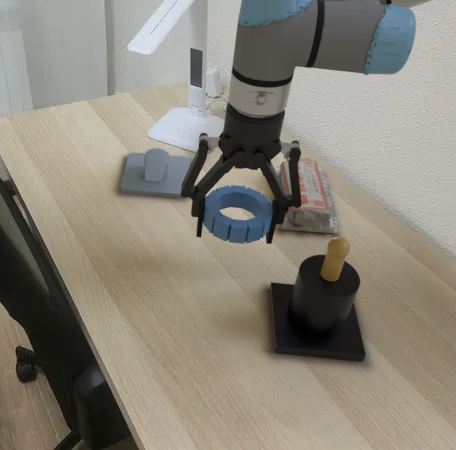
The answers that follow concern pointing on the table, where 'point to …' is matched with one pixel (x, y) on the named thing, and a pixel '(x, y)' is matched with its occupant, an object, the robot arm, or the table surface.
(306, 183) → the packaged product
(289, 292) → the tape holder
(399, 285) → the table surface
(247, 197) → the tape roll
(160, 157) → the shower valve
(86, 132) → the table surface
